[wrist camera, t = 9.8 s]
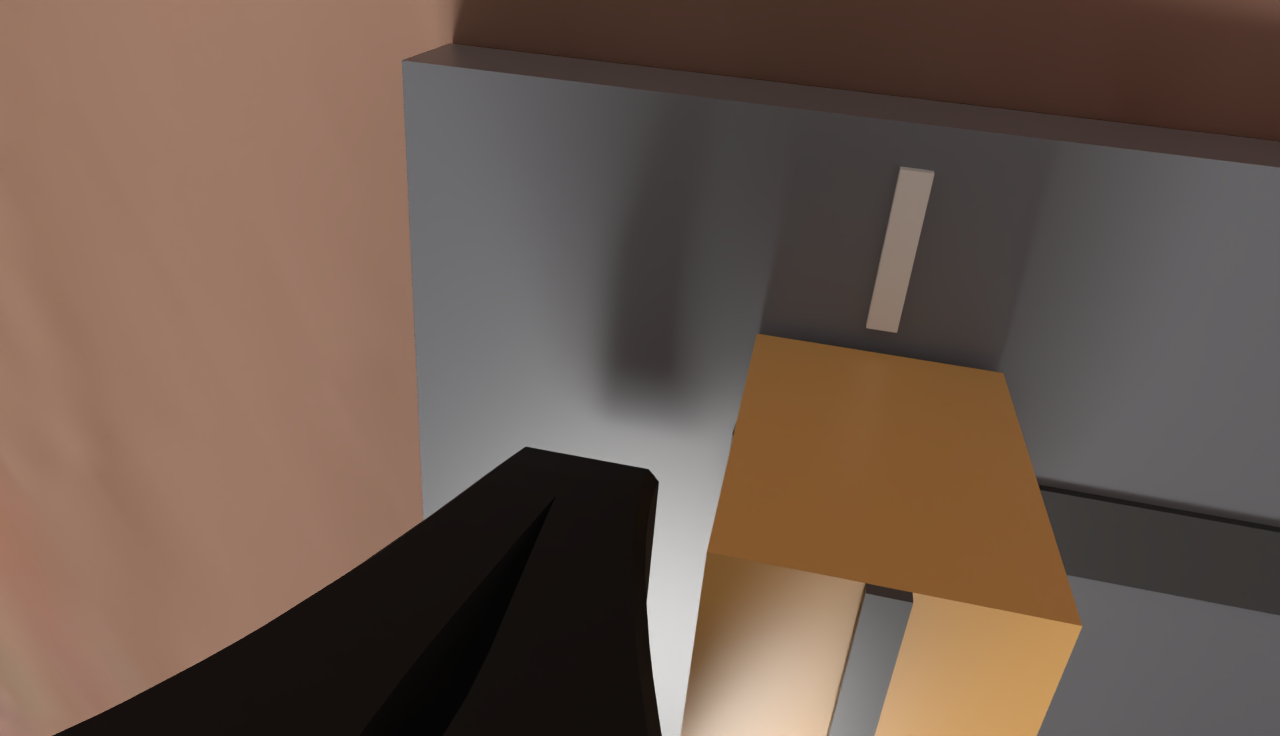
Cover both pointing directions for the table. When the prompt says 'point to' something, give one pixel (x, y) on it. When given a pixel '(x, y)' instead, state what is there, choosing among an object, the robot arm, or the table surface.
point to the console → (871, 328)
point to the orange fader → (877, 557)
